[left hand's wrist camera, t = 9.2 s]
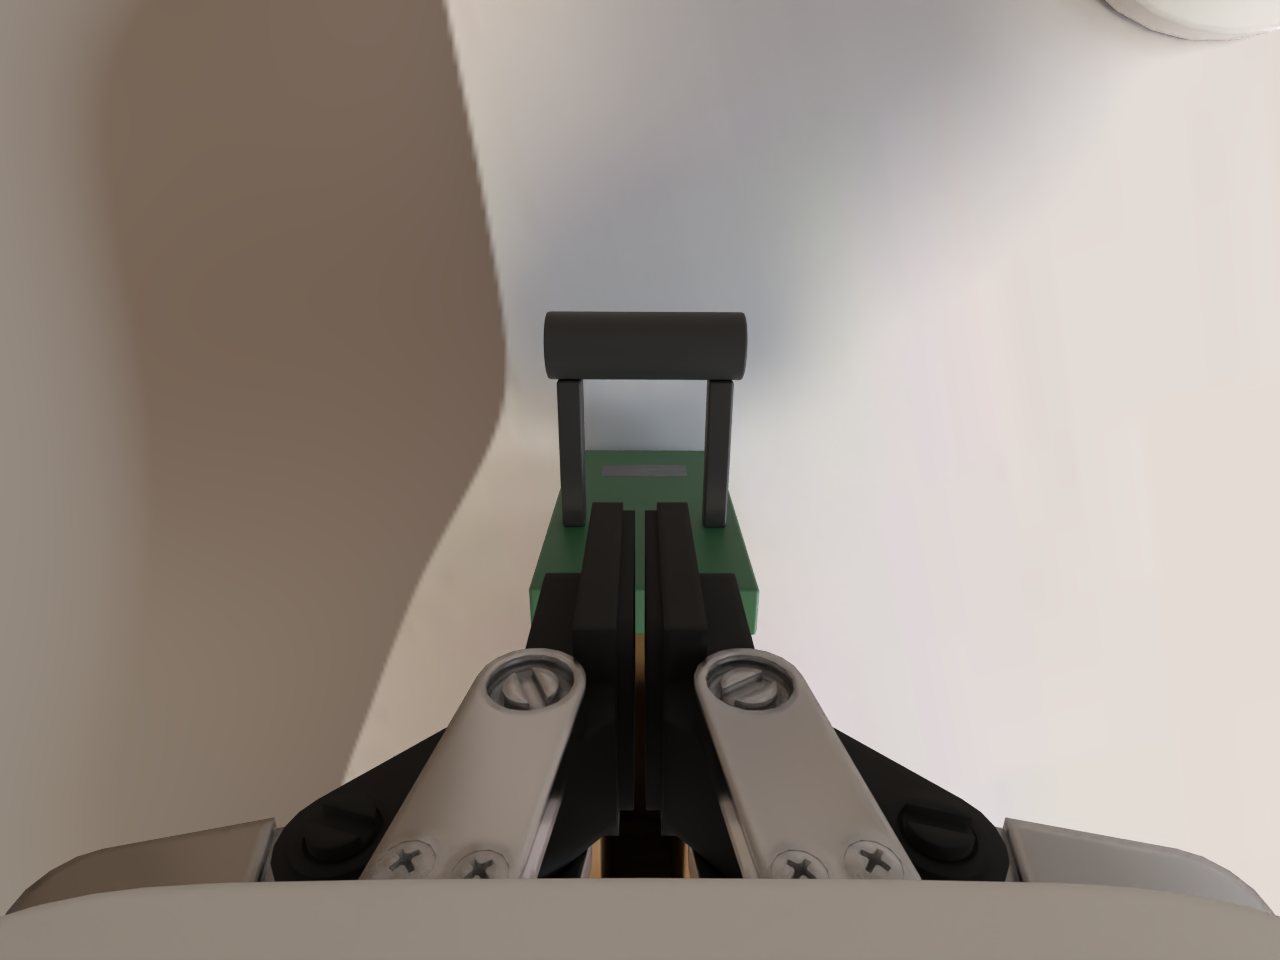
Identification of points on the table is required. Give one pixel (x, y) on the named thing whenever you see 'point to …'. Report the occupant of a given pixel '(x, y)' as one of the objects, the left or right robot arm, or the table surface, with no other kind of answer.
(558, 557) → the drawer
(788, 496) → the table surface
